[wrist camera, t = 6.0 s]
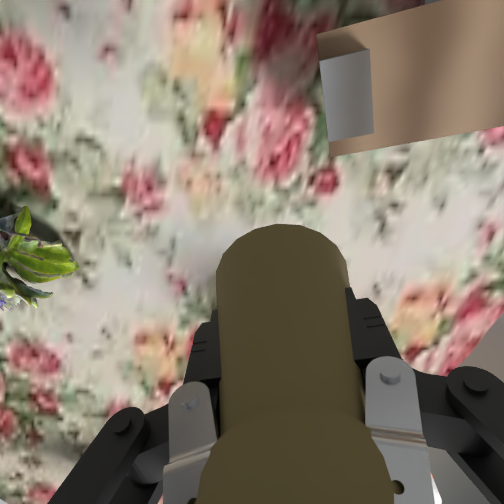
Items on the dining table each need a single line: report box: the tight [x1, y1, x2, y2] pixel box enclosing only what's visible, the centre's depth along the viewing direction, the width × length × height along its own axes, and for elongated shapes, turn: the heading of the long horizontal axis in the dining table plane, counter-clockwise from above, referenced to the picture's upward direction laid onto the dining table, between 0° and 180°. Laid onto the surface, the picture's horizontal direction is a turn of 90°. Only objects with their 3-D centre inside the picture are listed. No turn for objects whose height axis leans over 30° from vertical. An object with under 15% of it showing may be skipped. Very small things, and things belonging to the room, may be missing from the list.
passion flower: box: [0, 206, 79, 311], centre depth 33 cm, size 11×11×12 cm
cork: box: [194, 224, 404, 504], centre depth 11 cm, size 6×6×11 cm
